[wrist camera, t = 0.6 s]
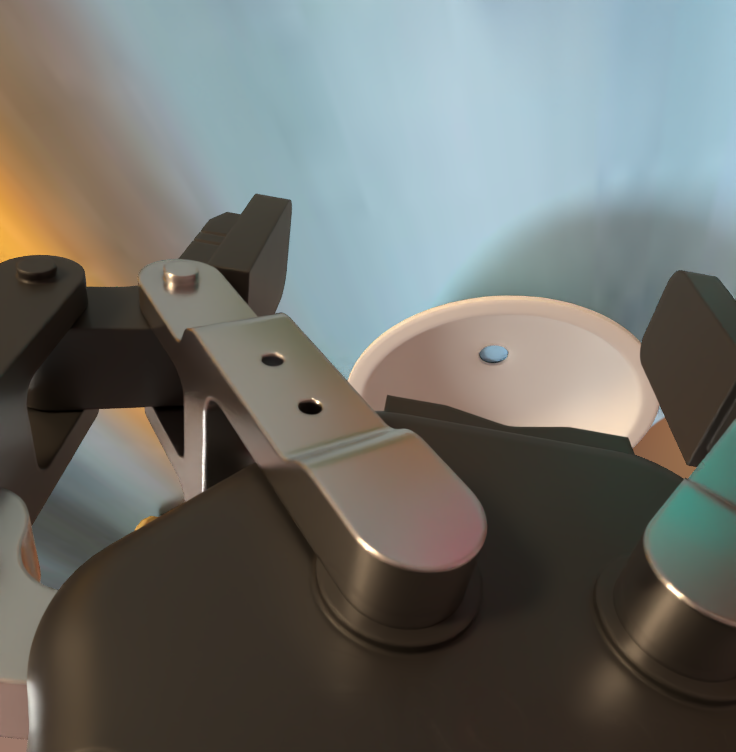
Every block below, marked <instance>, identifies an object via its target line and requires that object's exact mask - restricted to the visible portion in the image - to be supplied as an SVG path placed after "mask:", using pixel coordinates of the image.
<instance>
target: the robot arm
mask: <svg viewBox="0 0 736 752" xmlns="http://www.w3.org/2000/svg"><path fill="white" fill-rule="evenodd" d="M291 214H292V203H291V200H288V199H283V198H277V197H272V196H266V195H260V194H255V195H254V196H253V198H252V199H251V201H250V202H249V203H248V205H247V206H246V208H245V209H244V211H243V212H242V214H235V213H230V212H226V213H224V214H221V215H219V216H217V217H214V218H212V219H210V220H209V221H208V222H207V223H206V225H205V226H204V227H203V229H202V230H201V232H199V234H198V235H197V236H196V237H195V239H194V241H192V242H191V244H190V245H189V246H188V248H187V249H186V250H185V251H184V253H183V254H182V255H181V256H180V258H179V259H170V260H162V261H158V262H154V263H152V264H149V265H147V266H145V267H144V268H143V269H141V271H140V272H139V274H138V286H130V287H86V278H85V271H84V269H83V267H82V266H80V265H79V264H78V263H76V262H74V261H72V260H70V259H66V258H63V257H58V256H50V255H31V256H23V257H18V258H13V259H10V260H7V261H4V262H2V263H0V737H8V738H17V739H27V740H28V743H27V752H736V300H735V299H734V298H733V297H732V295H731V294H730V293H729V291H728V290H727V289H726V288H725V286H724V285H723V284H722V282H721V281H720V280H719V279H718V278H717V277H715V276H710V275H705V274H699V273H693V272H688V271H682V270H679V271H676V272H675V273H674V274H673V275H672V276H671V278H670V279H669V281H668V283H667V285H666V287H665V290H664V292H663V294H662V296H661V298H660V301H659V303H658V305H657V307H656V309H655V312H654V314H653V316H652V318H651V320H650V323H649V325H648V327H647V329H646V331H645V334H644V336H643V339H642V342H641V347H640V362H641V365H642V367H643V369H644V372H645V374H646V376H647V378H648V380H649V383H650V385H651V387H652V389H653V391H654V394H655V396H656V398H657V400H658V403H659V405H660V407H661V409H662V411H663V414H664V416H665V418H666V420H667V422H668V424H669V427H670V429H671V431H672V433H673V435H674V438H675V440H676V442H677V444H678V447H679V449H680V451H681V453H682V455H683V457H684V460H685V461H686V464H687V465H689V466H694V467H697V468H696V469H695V470H694V472H693V473H692V474H691V476H690V477H689V478H688V479H687V478H685V479H683V478H682V477H680V476H678V475H677V474H675V473H673V472H672V471H670V470H668V469H666V468H664V467H662V466H660V465H658V464H656V463H654V462H652V461H649V460H647V459H645V458H642V457H640V456H637V455H635V454H634V452H633V449H632V446H631V443H630V440H629V438H628V437H623V436H618V435H612V434H606V433H601V432H595V431H589V430H584V429H578V428H572V427H514V426H507V425H503V424H500V423H497V422H494V421H491V420H488V419H485V418H483V417H480V416H477V415H474V414H471V413H468V412H465V411H462V410H459V409H456V408H453V407H450V406H447V405H442V404H436V403H431V402H425V401H419V400H414V399H408V398H402V397H396V396H391V395H387V397H386V402H385V407H384V411H374V410H373V409H372V408H371V406H370V405H369V404H368V403H367V402H366V401H365V400H364V399H363V398H362V396H361V395H360V394H359V393H358V392H357V391H356V390H355V389H354V388H353V387H352V385H351V384H350V383H349V382H348V381H347V380H346V379H345V378H344V377H343V375H342V374H341V373H340V372H339V371H338V370H337V369H336V368H335V367H334V366H333V364H332V363H331V362H330V361H329V360H328V359H327V358H326V357H325V356H324V354H323V353H322V352H321V351H320V350H319V349H318V348H317V347H316V346H315V345H314V343H313V342H312V341H311V340H310V339H309V338H308V337H307V336H306V335H305V334H304V332H303V331H302V330H301V329H300V328H299V327H298V326H297V325H296V324H295V322H294V321H293V320H292V319H291V318H290V317H289V316H288V315H286V314H285V313H276V314H275V312H276V309H277V307H278V305H279V302H280V300H281V297H282V294H283V290H284V285H285V279H286V272H287V261H288V249H289V238H290V226H291ZM135 407H145V413H146V416H147V418H148V420H149V422H150V424H151V426H152V428H153V430H154V431H155V433H156V435H157V437H158V439H159V441H160V443H161V445H162V447H163V449H164V451H165V453H166V455H167V456H168V458H169V460H170V462H171V464H172V466H173V468H174V470H175V472H176V474H177V476H178V478H179V480H180V483H181V486H182V490H183V494H184V499H185V502H184V503H182V504H181V505H179V506H177V507H175V508H174V509H172V510H170V511H168V512H167V513H165V514H163V515H161V516H160V517H158V518H156V519H154V520H153V521H151V522H149V523H147V524H146V525H144V526H142V527H140V528H139V529H137V530H135V531H133V532H132V533H130V534H128V535H126V536H125V537H123V538H121V539H119V540H118V541H116V542H114V543H112V544H111V545H109V546H108V547H106V548H104V549H103V550H101V551H100V552H98V553H97V554H95V555H94V556H92V557H91V558H90V559H89V560H87V561H86V562H85V563H84V564H83V565H81V566H80V567H79V568H78V569H77V570H76V571H75V572H74V573H73V574H72V575H71V576H70V577H69V578H68V579H67V581H66V582H65V583H64V584H63V585H62V586H61V588H60V589H59V590H58V589H53V588H51V587H48V586H45V585H43V584H42V583H40V577H41V573H40V566H39V561H38V556H37V551H36V546H35V541H34V537H33V532H32V527H31V526H32V525H33V523H34V521H35V520H36V518H37V516H38V514H39V513H40V511H41V509H42V508H43V506H44V504H45V503H46V501H47V499H48V498H49V496H50V494H51V493H52V491H53V489H54V487H55V486H56V484H57V482H58V481H59V479H60V477H61V476H62V474H63V472H64V471H65V469H66V467H67V466H68V464H69V462H70V461H71V459H72V457H73V455H74V454H75V452H76V450H77V449H78V447H79V445H80V444H81V442H82V440H83V439H84V437H85V435H86V434H87V432H88V430H89V428H90V427H91V425H92V423H93V422H94V420H95V418H96V417H97V414H98V412H99V409H110V408H135Z"/></svg>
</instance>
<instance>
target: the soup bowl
mask: <svg viewBox="0 0 736 752" xmlns="http://www.w3.org/2000/svg"><path fill="white" fill-rule="evenodd" d="M491 345H498V346H502V347H504V348H505V349H506V350H507V351H508V356H507V358H506V359H505V360H503V361H501V362H499V363H487V362H485V361H483V360H482V359H481V358H480V356H479V352H480V351H481V350H482V349H483V348H485V347H487V346H491ZM640 347H641V342H640V341H639V340H638V339H637V338H636V337H635V336H634V335H633V334H631V333H630V332H629V331H628V330H626V329H625V328H624V327H622V326H621V325H620V324H618V323H616V322H615V321H613V320H611V319H609V318H608V317H606V316H604V315H602V314H599V313H597V312H595V311H593V310H590V309H587V308H584V307H581V306H578V305H575V304H571V303H567V302H563V301H559V300H554V299H548V298H541V297H531V296H486V297H479V298H472V299H466V300H461V301H456V302H451V303H448V304H444V305H441V306H437V307H434V308H431V309H428V310H426V311H423V312H420V313H418V314H416V315H414V316H412V317H409V318H407V319H405V320H403V321H402V322H400V323H398V324H397V325H395V326H393V327H391V328H390V329H389V330H387V331H386V332H384V333H383V334H382V335H380V336H379V337H378V338H377V339H376V340H375V341H374V342H372V343H371V344H370V345H369V346H368V348H367V349H366V350H365V351H364V352H363V353H362V355H361V356H360V357H359V359H358V360H357V362H356V363H355V365H354V367H353V369H352V371H351V373H350V376H349V378H348V382H349V383H350V384H351V385H352V387H353V388H354V389H355V390H356V391H357V392H358V393H359V394H360V395H361V396H362V398H363V399H364V400H365V401H366V402H367V403H368V404H369V405H370V406H371V408H372V409H373V410H374V411H384V407H385V402H386V397H387V395H391V396H396V397H402V398H408V399H414V400H419V401H425V402H431V403H436V404H442V405H447V406H450V407H453V408H456V409H459V410H462V411H465V412H468V413H471V414H474V415H477V416H480V417H483V418H485V419H488V420H491V421H494V422H497V423H500V424H503V425H507V426H514V427H572V428H578V429H584V430H589V431H595V432H601V433H606V434H612V435H618V436H623V437H628V438H629V440H630V443H631V446H632V448H633V447H634V446H635V445H636V444H637V443H638V442H639V441H640V440H641V439H642V438H643V437H644V435H645V434H646V433H647V432H648V430H649V428H650V427H651V425H652V423H653V421H654V419H655V417H656V415H657V412H658V408H659V403H658V400H657V398H656V396H655V394H654V391H653V389H652V387H651V385H650V383H649V380H648V378H647V376H646V374H645V372H644V369H643V367H642V365H641V362H640Z"/></svg>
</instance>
